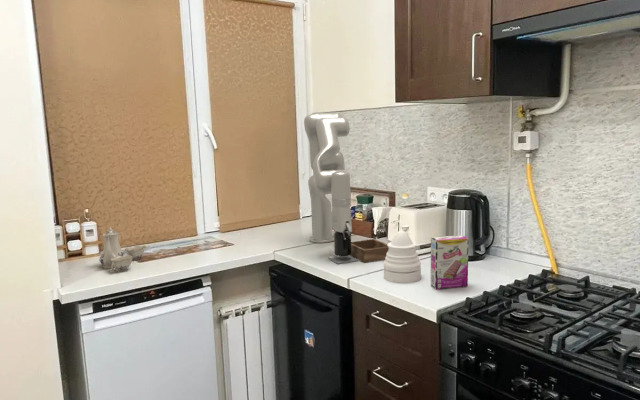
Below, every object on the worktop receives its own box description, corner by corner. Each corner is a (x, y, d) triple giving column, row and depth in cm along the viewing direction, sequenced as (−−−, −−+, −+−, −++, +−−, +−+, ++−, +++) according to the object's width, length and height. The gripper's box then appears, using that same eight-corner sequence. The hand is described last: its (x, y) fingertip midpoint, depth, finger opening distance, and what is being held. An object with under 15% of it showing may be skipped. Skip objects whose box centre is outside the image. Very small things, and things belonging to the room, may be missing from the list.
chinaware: (134, 277, 190) (134, 235, 188) (88, 276, 187) (88, 233, 185) (147, 259, 217) (148, 222, 215) (108, 258, 215) (108, 221, 212)
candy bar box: (436, 290, 155) (435, 240, 153) (430, 285, 160) (429, 237, 158) (469, 287, 157) (469, 237, 155) (462, 282, 162) (462, 234, 160)
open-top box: (347, 254, 205) (346, 242, 204) (374, 250, 210) (374, 238, 209) (364, 262, 190) (364, 250, 190) (393, 258, 195) (393, 246, 195)
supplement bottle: (350, 256, 191) (349, 226, 190) (333, 256, 193) (332, 226, 191) (352, 252, 198) (351, 223, 196) (336, 252, 200) (335, 223, 198)
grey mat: (328, 259, 198) (328, 257, 198) (348, 256, 202) (348, 255, 202) (337, 264, 190) (337, 263, 190) (358, 261, 193) (358, 260, 193)
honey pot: (400, 270, 179) (400, 222, 177) (428, 277, 169) (428, 226, 167) (376, 277, 171) (375, 227, 169) (403, 285, 161) (402, 232, 159)
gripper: (324, 201, 199) (325, 243, 202) (341, 206, 183) (343, 252, 186) (340, 199, 202) (342, 241, 204) (359, 204, 186) (360, 250, 188)
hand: (342, 246), depth 195 cm, fingers closed on supplement bottle, 6 cm apart
